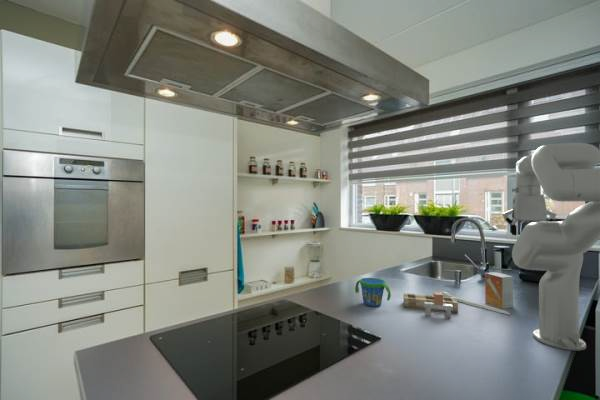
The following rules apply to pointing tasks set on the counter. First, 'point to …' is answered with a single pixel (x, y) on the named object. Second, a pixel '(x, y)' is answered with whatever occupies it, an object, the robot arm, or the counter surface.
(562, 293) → the robot arm
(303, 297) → the counter surface
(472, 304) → the spatula
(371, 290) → the snack cup
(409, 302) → the rail
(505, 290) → the small box
